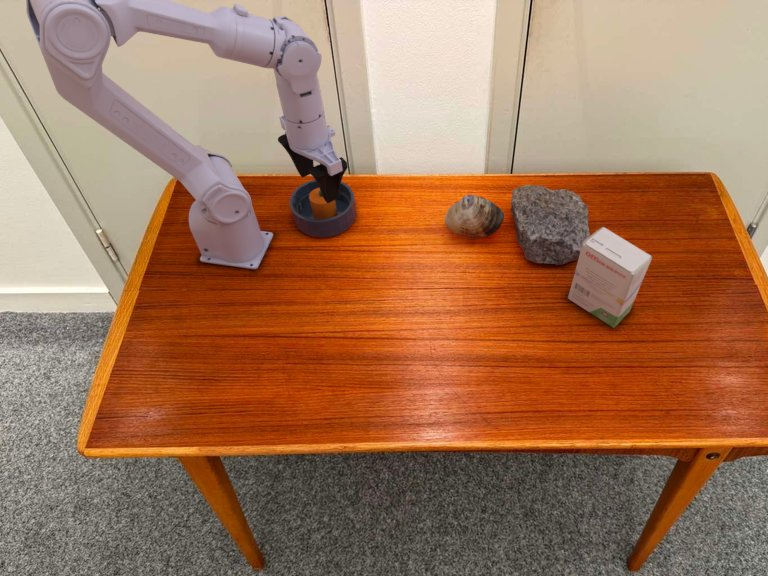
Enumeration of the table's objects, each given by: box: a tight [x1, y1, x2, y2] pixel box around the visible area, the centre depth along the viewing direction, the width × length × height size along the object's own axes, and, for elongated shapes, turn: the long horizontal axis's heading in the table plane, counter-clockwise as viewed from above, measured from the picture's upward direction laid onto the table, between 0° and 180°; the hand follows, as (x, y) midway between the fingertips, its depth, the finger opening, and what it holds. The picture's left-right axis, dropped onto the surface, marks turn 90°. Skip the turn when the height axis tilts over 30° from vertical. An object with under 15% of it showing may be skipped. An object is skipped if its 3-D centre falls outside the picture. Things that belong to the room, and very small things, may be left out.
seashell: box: [444, 194, 505, 240], centre depth 100 cm, size 10×6×8 cm, turn 87°
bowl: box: [289, 179, 358, 238], centre depth 104 cm, size 10×10×4 cm
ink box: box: [567, 226, 653, 329], centre depth 90 cm, size 9×5×12 cm, turn 47°
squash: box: [309, 188, 338, 220], centre depth 103 cm, size 4×4×5 cm
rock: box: [510, 184, 591, 266], centre depth 101 cm, size 13×6×15 cm
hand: (319, 186), depth 100 cm, fingers open, 7 cm apart
